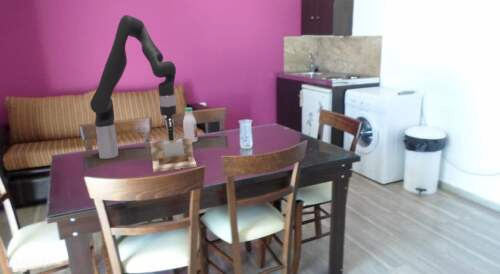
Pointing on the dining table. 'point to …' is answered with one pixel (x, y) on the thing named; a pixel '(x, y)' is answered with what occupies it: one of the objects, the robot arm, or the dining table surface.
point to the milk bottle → (189, 125)
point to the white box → (173, 147)
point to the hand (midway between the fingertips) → (171, 139)
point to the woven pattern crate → (175, 161)
